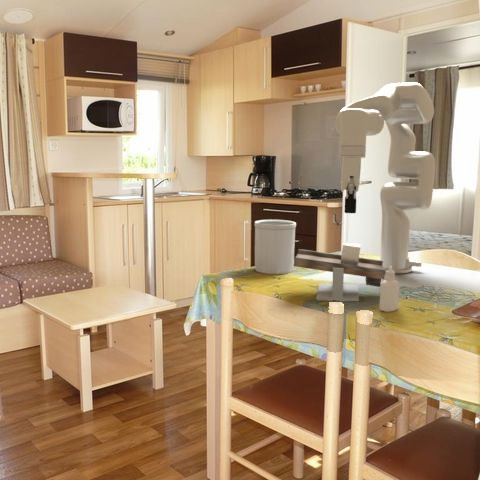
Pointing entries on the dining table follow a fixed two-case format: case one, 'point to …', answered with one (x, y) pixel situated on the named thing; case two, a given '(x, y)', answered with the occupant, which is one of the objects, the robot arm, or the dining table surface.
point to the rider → (350, 253)
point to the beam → (341, 265)
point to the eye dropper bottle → (389, 292)
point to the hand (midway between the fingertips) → (350, 211)
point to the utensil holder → (274, 246)
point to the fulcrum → (337, 289)
